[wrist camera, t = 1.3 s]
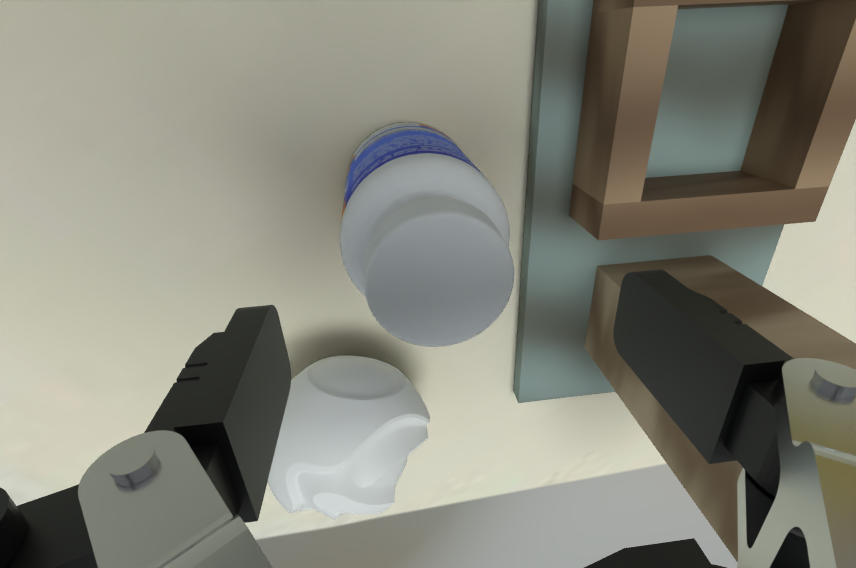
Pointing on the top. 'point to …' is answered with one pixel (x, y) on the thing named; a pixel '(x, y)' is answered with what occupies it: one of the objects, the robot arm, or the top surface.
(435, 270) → the pill bottle
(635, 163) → the socket board
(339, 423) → the white rounded piece
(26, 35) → the top surface
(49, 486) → the top surface
